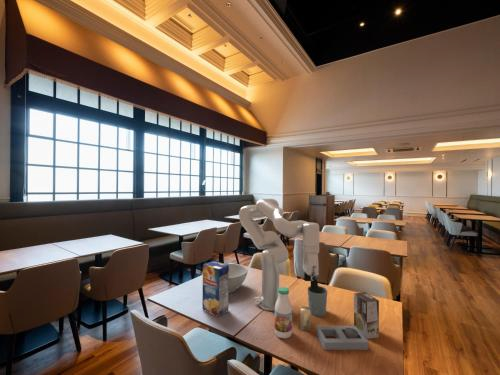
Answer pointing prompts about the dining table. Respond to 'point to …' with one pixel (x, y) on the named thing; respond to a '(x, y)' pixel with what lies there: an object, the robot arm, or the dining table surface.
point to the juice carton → (215, 287)
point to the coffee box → (366, 315)
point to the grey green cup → (317, 301)
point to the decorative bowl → (236, 276)
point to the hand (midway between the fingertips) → (310, 284)
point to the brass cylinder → (305, 318)
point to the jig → (341, 338)
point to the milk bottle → (283, 314)
